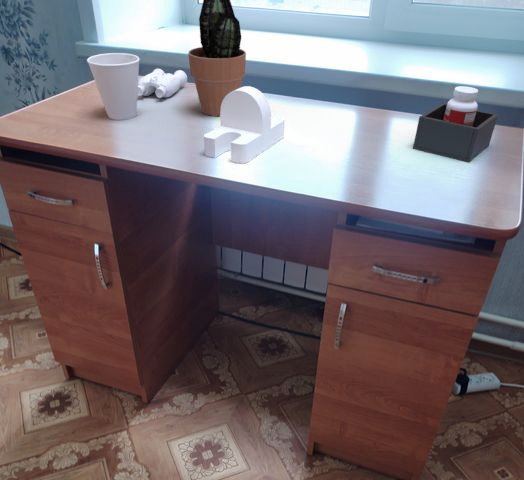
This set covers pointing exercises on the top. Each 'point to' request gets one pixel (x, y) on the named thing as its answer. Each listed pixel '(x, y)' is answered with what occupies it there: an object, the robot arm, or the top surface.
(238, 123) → the bracket
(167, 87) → the binoculars
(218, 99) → the potted plant
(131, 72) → the cup
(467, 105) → the pill bottle
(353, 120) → the top surface
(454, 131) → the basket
